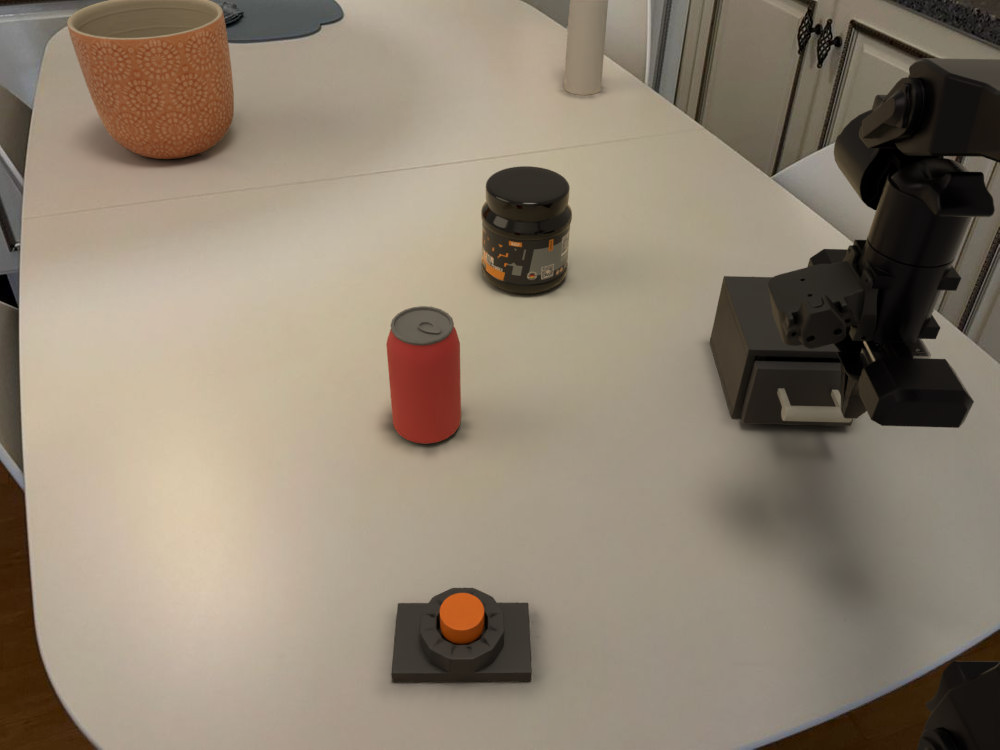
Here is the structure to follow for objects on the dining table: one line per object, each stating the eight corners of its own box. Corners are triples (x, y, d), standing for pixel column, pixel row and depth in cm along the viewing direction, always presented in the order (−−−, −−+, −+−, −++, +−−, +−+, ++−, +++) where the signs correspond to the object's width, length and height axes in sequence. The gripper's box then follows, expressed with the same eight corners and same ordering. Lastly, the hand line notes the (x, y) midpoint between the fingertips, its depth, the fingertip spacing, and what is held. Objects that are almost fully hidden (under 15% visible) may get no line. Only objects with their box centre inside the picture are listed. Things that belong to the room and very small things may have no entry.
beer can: (434, 457, 79) (429, 355, 72) (379, 430, 82) (369, 328, 74) (474, 418, 84) (474, 317, 76) (420, 393, 86) (415, 294, 79)
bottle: (605, 84, 154) (621, -89, 136) (595, 97, 149) (610, -81, 131) (570, 79, 156) (581, -93, 138) (559, 91, 151) (569, -85, 133)
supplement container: (471, 257, 107) (471, 168, 99) (551, 246, 109) (556, 159, 102) (494, 303, 99) (495, 211, 92) (579, 291, 101) (587, 199, 94)
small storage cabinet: (849, 421, 84) (874, 352, 79) (731, 418, 84) (748, 349, 79) (814, 344, 94) (835, 278, 88) (709, 342, 94) (723, 275, 89)
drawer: (863, 454, 79) (885, 399, 75) (751, 451, 79) (766, 396, 75) (818, 353, 91) (835, 300, 87) (720, 351, 91) (732, 298, 87)
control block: (527, 611, 66) (529, 587, 64) (531, 682, 62) (532, 658, 60) (398, 611, 66) (396, 587, 64) (392, 683, 61) (389, 659, 59)
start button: (484, 606, 64) (484, 592, 62) (484, 644, 61) (484, 630, 60) (441, 607, 63) (440, 592, 62) (439, 644, 61) (438, 630, 60)
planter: (120, 185, 121) (81, 48, 109) (92, 132, 134) (55, 5, 122) (263, 155, 129) (241, 24, 117) (223, 108, 143) (200, -13, 131)
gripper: (763, 180, 66) (726, 342, 76) (830, 321, 51) (774, 499, 61) (908, 184, 66) (852, 346, 76) (1017, 326, 51) (930, 503, 61)
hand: (848, 415), depth 68 cm, fingers closed
